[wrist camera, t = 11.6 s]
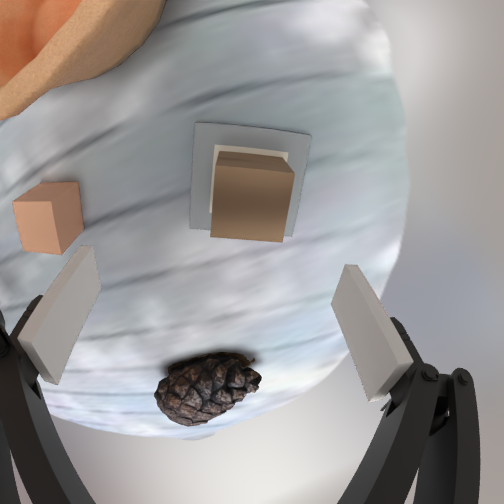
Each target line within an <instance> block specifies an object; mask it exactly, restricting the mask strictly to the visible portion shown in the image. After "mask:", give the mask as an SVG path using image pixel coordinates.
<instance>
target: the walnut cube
mask: <svg viewBox="0 0 504 504" xmlns="http://www.w3.org/2000/svg"><path fill="white" fill-rule="evenodd" d="M294 178H295V173H294V171H293V170H292V169H291V168H290V166H289V165H288V164H287V162H286V161H285V160H284V159H283V157H276V156H268V155H259V154H250V153H240V152H228V151H219V154H218V158H217V161H216V165H215V175H214V188H213V202H212V217H211V234H210V237H217V238H230V239H243V240H256V241H269V242H283V237H284V231H285V226H286V221H287V216H288V210H289V205H290V200H291V194H292V189H293V183H294Z"/></svg>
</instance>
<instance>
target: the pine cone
mask: <svg viewBox="0 0 504 504" xmlns="http://www.w3.org/2000/svg"><path fill="white" fill-rule="evenodd" d="M254 361H255V359H254V358H253V360H252V362H254ZM250 364H251V362H250V361H249V360H247V358H246V357H245V356H244V355H241V354H238V353H227V352H218V353H212V354H206V356H205V355H202V356H198V357H195V358H192V359H189V360H186V361H183V362H179V363H176V364H174V365H172V366H170V367H168V373H169V375H168V376H167V377H166V378H164V379H162V380H161V381H159V384H158V388H157V390H156V392H155V393H154V397H155V398H156V400H157V405H158V407H159V408H160V410H161V411H162V412H163V413H164V414H165V415H167V417H168V418H169V419H170V420H172V421H173V422H176V423H178V424H181V425H185V426H188V427H189V426H196V425H200V424H205V423H207V422H208V420H211V419H213V418H215V417H217V416H219V415H221V414H223V413H225V412H226V410H229V409H231V408H232V407H233V406H234V405H235V403H236V402H238V401H239V402H240V401H242V400H243V398H244V397H245V396H246V393H250V392H253V393H255V392H256V390H258V389H259V386H258V384H259V383H260V381H261V379H262V377H261V375H260V374H259V373H258V372H256V371H254V370H253V369H251V368H249V367H247V366H249V365H250ZM245 367H246V368H245Z"/></svg>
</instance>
